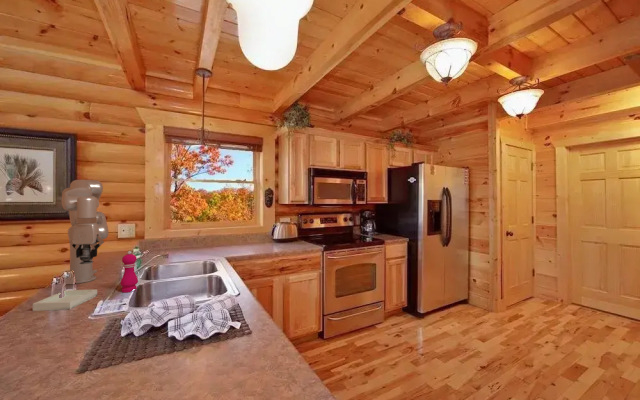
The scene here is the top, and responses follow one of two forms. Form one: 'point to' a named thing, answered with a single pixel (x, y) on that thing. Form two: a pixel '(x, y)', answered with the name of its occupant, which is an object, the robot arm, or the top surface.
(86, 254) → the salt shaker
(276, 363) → the top surface
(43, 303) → the tray
